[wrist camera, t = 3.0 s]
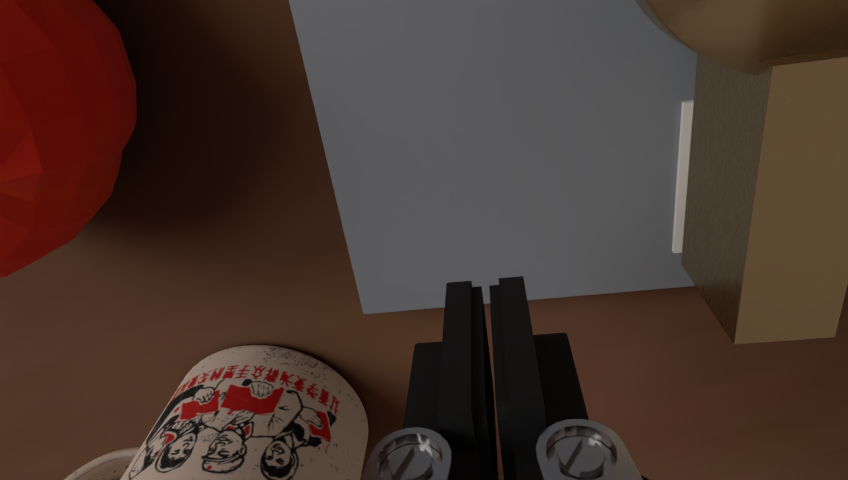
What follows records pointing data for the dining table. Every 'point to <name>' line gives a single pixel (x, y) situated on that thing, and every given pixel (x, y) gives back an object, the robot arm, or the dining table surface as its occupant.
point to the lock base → (501, 144)
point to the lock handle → (766, 162)
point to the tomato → (58, 122)
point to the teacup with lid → (249, 424)
